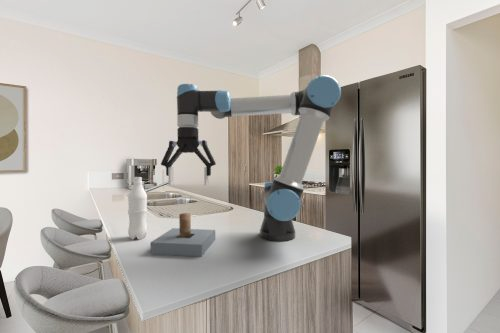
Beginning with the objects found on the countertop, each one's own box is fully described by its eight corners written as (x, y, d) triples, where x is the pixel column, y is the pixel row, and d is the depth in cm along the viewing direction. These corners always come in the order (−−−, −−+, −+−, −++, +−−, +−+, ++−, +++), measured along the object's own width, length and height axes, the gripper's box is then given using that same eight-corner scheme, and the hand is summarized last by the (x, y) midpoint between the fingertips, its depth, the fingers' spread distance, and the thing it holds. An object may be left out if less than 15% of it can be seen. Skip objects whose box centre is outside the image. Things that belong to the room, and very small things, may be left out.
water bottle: (140, 241, 99) (140, 178, 99) (124, 240, 101) (123, 177, 100) (150, 235, 106) (150, 176, 106) (135, 234, 108) (135, 176, 107)
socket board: (215, 239, 102) (215, 229, 102) (201, 256, 84) (201, 244, 84) (172, 237, 104) (172, 228, 104) (150, 253, 86) (150, 242, 86)
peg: (192, 244, 96) (192, 213, 95) (188, 248, 92) (188, 215, 91) (182, 244, 96) (182, 213, 96) (177, 247, 92) (177, 215, 92)
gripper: (223, 128, 96) (223, 183, 96) (160, 129, 98) (161, 183, 99) (218, 125, 88) (219, 185, 89) (150, 126, 91) (151, 185, 92)
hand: (188, 184), depth 94 cm, fingers open, 13 cm apart
